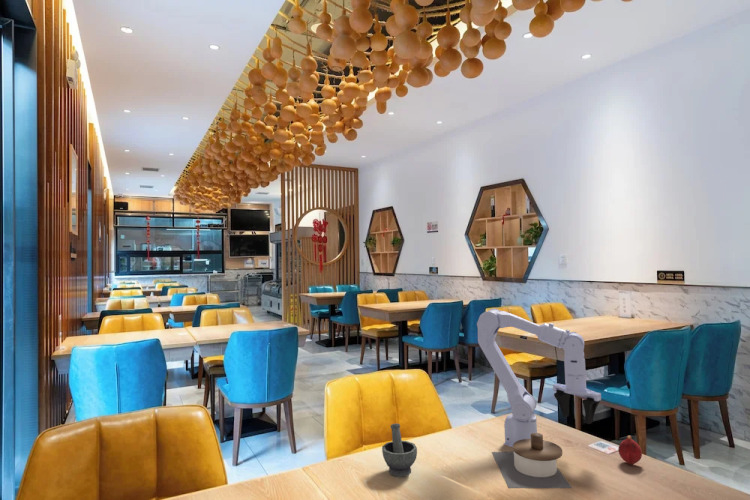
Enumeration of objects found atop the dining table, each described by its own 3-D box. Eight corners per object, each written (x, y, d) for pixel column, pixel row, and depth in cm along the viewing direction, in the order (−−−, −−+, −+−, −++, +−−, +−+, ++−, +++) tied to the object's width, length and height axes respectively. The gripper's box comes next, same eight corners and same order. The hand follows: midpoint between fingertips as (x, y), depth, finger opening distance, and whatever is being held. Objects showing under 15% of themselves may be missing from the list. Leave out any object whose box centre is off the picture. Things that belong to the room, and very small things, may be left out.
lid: (503, 448, 128) (502, 432, 128) (533, 438, 135) (533, 423, 135) (541, 465, 117) (540, 448, 117) (572, 453, 124) (571, 436, 124)
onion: (645, 470, 123) (644, 440, 124) (623, 468, 124) (621, 439, 125) (638, 461, 129) (636, 432, 129) (616, 459, 130) (614, 431, 130)
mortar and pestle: (420, 478, 122) (419, 433, 123) (387, 481, 121) (385, 436, 121) (410, 460, 134) (409, 420, 134) (379, 463, 132) (378, 422, 132)
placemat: (508, 489, 115) (508, 487, 115) (491, 453, 137) (491, 451, 137) (572, 489, 114) (572, 487, 114) (544, 453, 136) (544, 451, 136)
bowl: (506, 467, 126) (506, 450, 126) (528, 456, 133) (528, 439, 133) (543, 481, 118) (542, 463, 118) (564, 468, 125) (563, 451, 125)
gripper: (546, 371, 139) (548, 416, 138) (590, 380, 127) (592, 429, 126) (560, 368, 143) (562, 411, 142) (604, 376, 130) (606, 424, 130)
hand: (577, 419), depth 134 cm, fingers open, 7 cm apart
